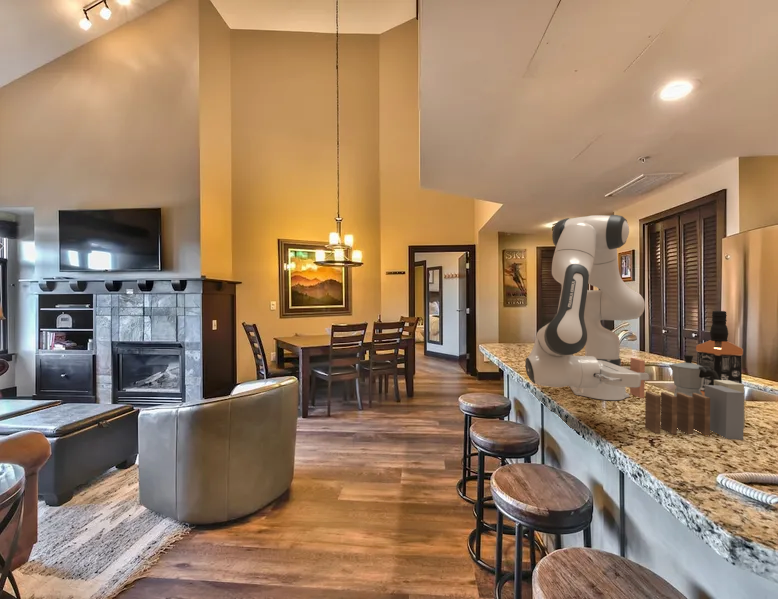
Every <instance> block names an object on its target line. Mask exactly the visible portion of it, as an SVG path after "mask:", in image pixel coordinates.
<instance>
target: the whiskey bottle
mask: <svg viewBox="0 0 778 599" xmlns="http://www.w3.org/2000/svg"><path fill="white" fill-rule="evenodd" d="M711 314H712V315H711V322H712V323H711V327H710V331H709V333H710V339H709V340H708V341H707V340H706V341H705V342H701V343H699V344H696V346H695V351H696V353H697V355H696V356H697V358H696V364H697V365H700V366H703V367H709V368H710V369H711V370H714V371H716V372H717V374H718V376H719V378H720V379H719V380H730V381H734V382H737V383H741V384H743V383H742V382H743V381H742V377H743V376H742V373H743V372H742V356H743V355H744V349H743V348H742V347H741V346H738V345H737V344H735V343H733V342H730V341H729V340H728V336H729V330H728V326H727V321H728V320H727V316H728V315H727V311H726V310H713V311H712V313H711ZM712 379H713V377H712V376H710V377H704V381H703V387H702V388H700V391H701V393H702V395H703V396H705V392H704V391H703V390H704V389H705V385H708V384H709V383H710V382H711V380H712Z"/></svg>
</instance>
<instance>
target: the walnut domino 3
mask: <svg viewBox="0 0 778 599" xmlns="http://www.w3.org/2000/svg"><path fill="white" fill-rule="evenodd" d="M693 410H694V397H691V396H689V395H686V394H683V393H677V428H678V429H679V430H678V429H677V430H678V431H680V430H681V431H680V432H682V431H683V432H685V433H687V434H693V435H694V430H693ZM683 432H682V433H683ZM685 433H684V434H685ZM687 434H686V435H687Z"/></svg>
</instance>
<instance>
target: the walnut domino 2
mask: <svg viewBox="0 0 778 599" xmlns="http://www.w3.org/2000/svg"><path fill="white" fill-rule="evenodd" d="M660 396H661V420H660V429H662V430H664V431H666V432H667V431H668V432H667V433H669V434H670V433H671V435H676V434H677V433H678V432H677V431H678V429H677V397H676V396H674V394H671V393H670V392H669V393H668V392H666V391H661V392H660Z"/></svg>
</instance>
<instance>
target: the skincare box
mask: <svg viewBox="0 0 778 599" xmlns="http://www.w3.org/2000/svg"><path fill="white" fill-rule="evenodd" d="M714 385H718V386H723V387H727V388H730V389H733V390H736V391H740V392H743V393H744V394H745V384H743V383H742V384H741V383H737V382H734V381H730V380H714ZM745 427H746V414H745V406H744V428H745Z"/></svg>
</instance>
